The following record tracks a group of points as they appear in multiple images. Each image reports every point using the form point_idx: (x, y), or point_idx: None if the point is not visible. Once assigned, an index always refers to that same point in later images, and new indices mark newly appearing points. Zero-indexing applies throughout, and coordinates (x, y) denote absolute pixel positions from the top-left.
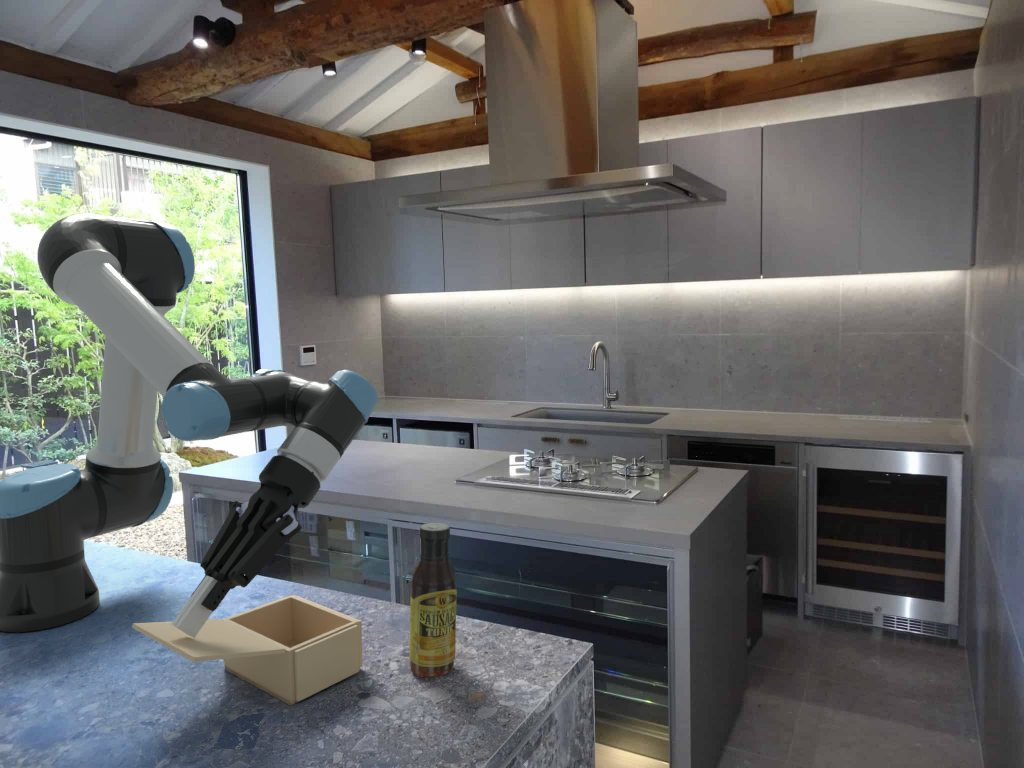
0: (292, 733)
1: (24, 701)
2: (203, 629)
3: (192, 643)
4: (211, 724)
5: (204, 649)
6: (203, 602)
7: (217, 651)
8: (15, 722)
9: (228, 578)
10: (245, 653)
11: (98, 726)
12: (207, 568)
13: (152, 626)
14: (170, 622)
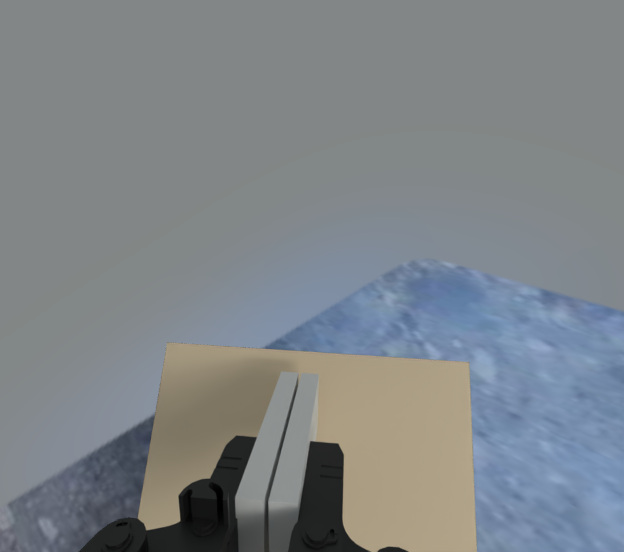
0: (114, 521)
1: (581, 317)
2: (368, 522)
3: (257, 403)
4: None
5: (204, 400)
6: (254, 442)
7: (179, 420)
8: (514, 287)
9: (165, 538)
10: (144, 486)
11: (410, 346)
12: (324, 535)
13: (428, 394)
14: (463, 471)
